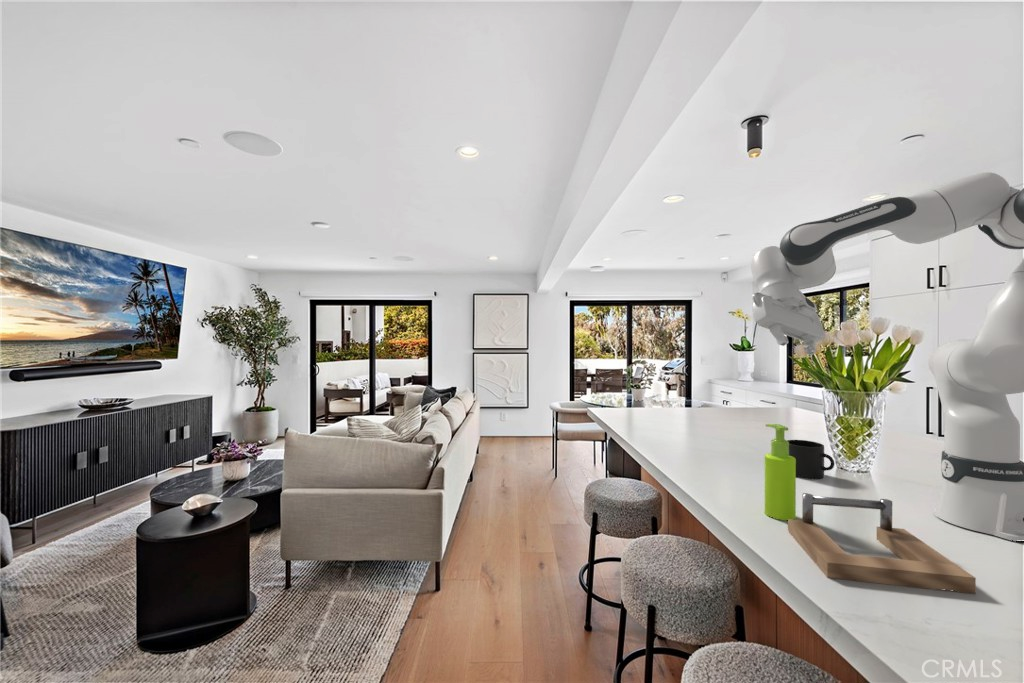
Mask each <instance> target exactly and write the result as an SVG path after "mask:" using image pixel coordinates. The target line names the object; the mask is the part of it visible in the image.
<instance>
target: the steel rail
mask: <svg viewBox="0 0 1024 683" xmlns="http://www.w3.org/2000/svg"><path fill="white" fill-rule="evenodd" d="M814 505H815V506H816V505H817V506H826V507H827V506H829V507H840V508H841V507H842V508H853V509H854V508H855V509H856V508H858V509H869V510H870V509H871V510H879V527H880V528H881V529H883V530H887V531H892V528H893V500H892V499H891V500H890V499H886V498H880V500H874V499H873V500H872V499H855V498H845V497H834V496H833V497H831V496H830V497H829V496H817V495H814V494H811V493H806V492H805V493H802V506H801V507H802V510H801V511H802V512H801V513H802V519H801V520H802V521H803V522H804V523H807V524H813V522H814Z"/></svg>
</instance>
